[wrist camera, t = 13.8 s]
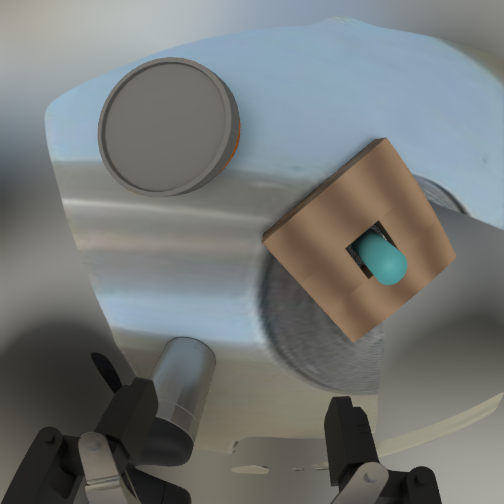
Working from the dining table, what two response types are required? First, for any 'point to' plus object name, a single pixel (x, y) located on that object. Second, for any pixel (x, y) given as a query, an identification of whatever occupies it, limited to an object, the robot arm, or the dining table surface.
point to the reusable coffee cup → (168, 128)
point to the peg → (380, 257)
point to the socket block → (350, 228)
